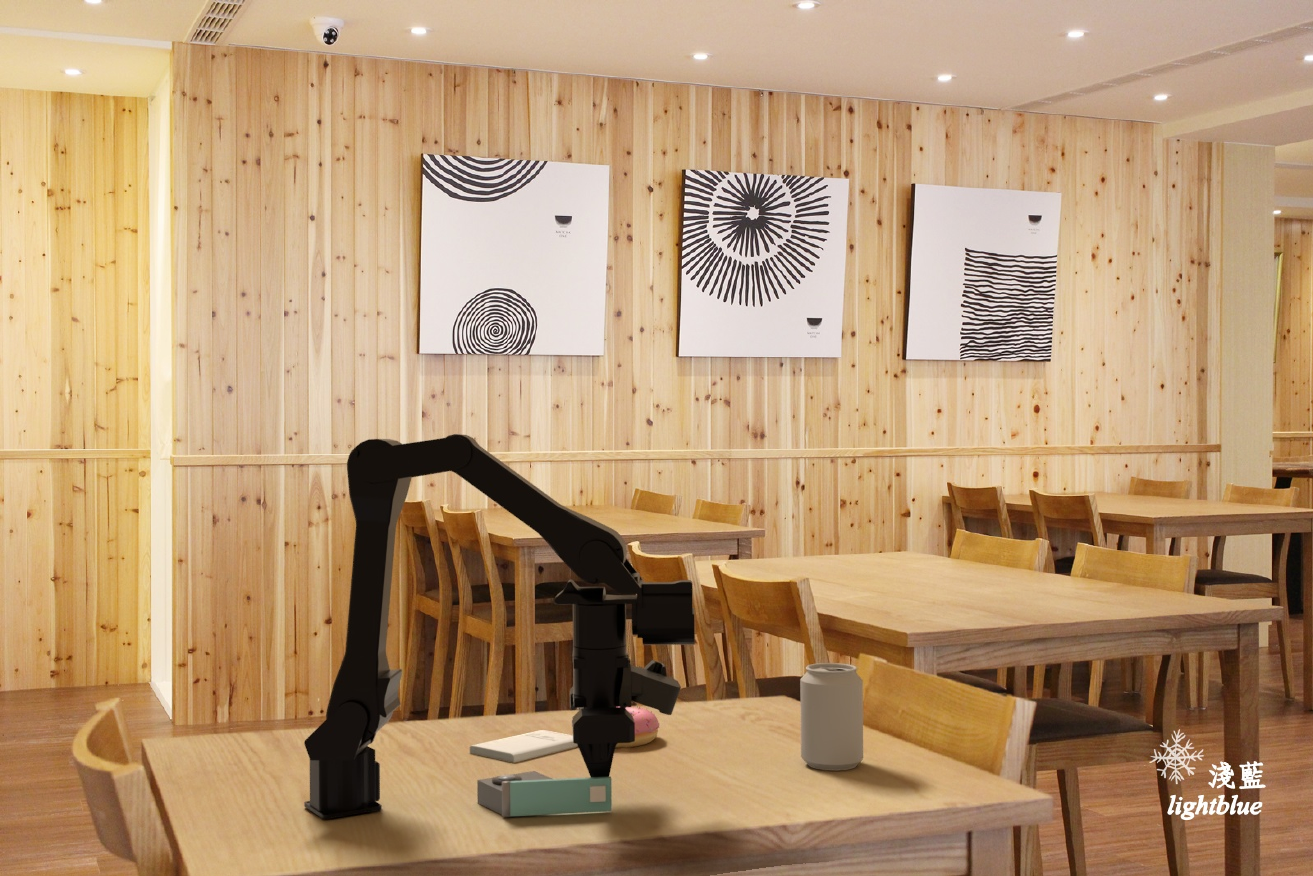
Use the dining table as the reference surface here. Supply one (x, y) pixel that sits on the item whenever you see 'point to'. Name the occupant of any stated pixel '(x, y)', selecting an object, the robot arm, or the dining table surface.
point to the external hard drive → (524, 746)
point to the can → (831, 716)
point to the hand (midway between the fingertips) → (601, 790)
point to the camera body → (492, 788)
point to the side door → (556, 796)
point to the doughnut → (642, 727)
